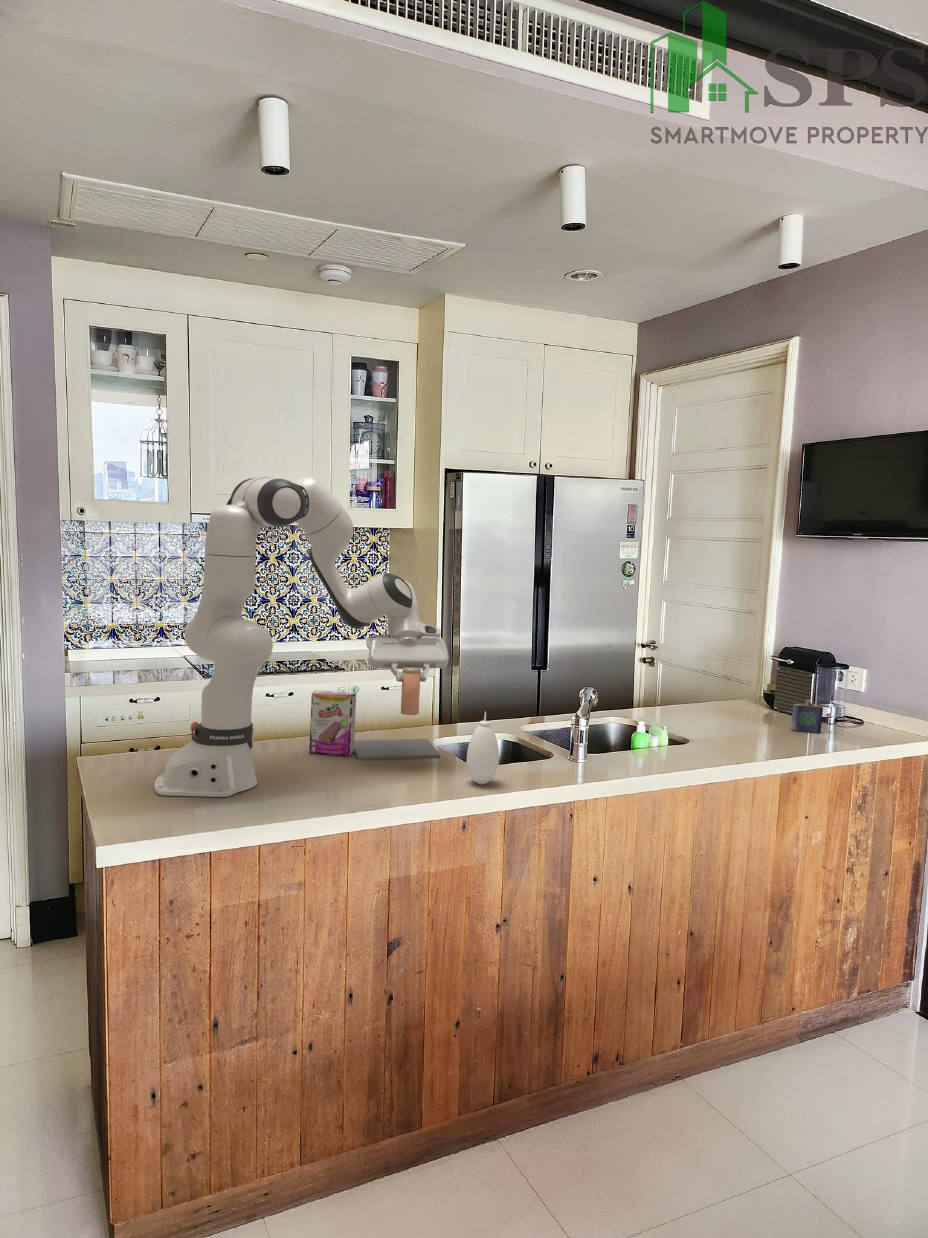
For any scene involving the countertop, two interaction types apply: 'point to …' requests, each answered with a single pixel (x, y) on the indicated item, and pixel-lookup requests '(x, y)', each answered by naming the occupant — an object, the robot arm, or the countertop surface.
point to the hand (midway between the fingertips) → (411, 680)
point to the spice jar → (410, 690)
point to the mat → (394, 749)
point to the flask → (807, 718)
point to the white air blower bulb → (483, 753)
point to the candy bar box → (332, 723)
